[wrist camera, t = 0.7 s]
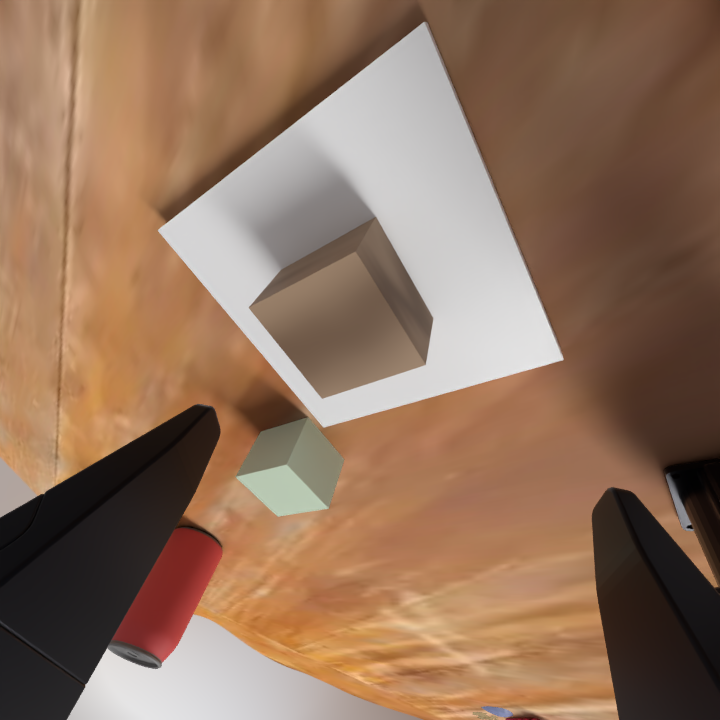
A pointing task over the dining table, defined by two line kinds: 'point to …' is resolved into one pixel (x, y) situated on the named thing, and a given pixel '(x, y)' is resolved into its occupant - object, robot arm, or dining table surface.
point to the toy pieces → (498, 712)
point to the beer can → (167, 598)
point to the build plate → (396, 216)
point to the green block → (292, 468)
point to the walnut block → (347, 313)
